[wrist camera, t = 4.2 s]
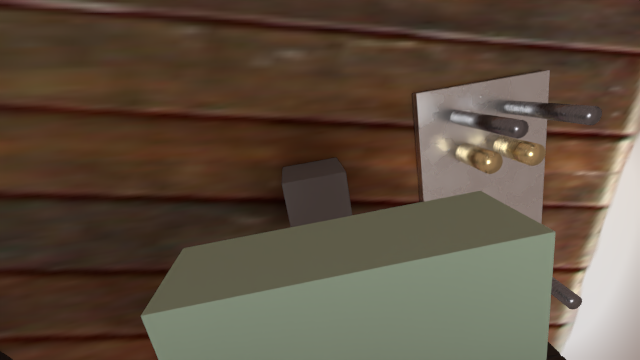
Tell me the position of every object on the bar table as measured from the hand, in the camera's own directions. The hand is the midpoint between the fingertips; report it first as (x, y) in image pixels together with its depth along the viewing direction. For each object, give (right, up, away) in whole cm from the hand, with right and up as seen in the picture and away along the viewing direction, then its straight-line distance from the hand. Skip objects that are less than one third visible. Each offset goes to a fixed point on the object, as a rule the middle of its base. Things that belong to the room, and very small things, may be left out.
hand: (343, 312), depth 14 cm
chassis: (+15, +5, +18) cm, 24 cm away
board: (0, -1, -3) cm, 4 cm away
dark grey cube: (-2, +5, +16) cm, 17 cm away
